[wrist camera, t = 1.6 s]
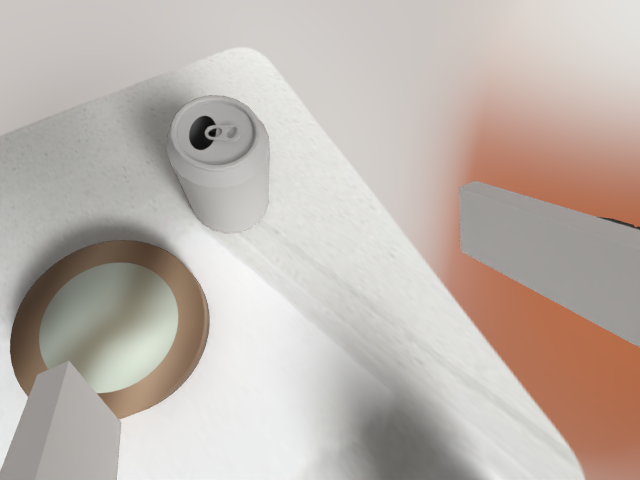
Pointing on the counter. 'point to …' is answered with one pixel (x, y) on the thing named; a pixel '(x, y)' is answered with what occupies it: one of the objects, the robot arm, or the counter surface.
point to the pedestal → (114, 323)
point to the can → (221, 162)
